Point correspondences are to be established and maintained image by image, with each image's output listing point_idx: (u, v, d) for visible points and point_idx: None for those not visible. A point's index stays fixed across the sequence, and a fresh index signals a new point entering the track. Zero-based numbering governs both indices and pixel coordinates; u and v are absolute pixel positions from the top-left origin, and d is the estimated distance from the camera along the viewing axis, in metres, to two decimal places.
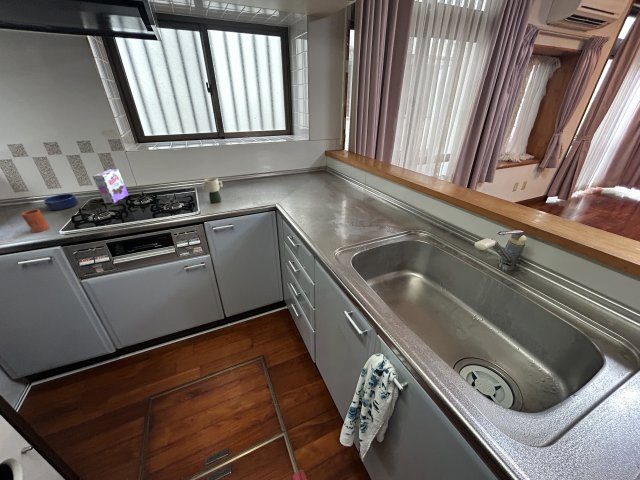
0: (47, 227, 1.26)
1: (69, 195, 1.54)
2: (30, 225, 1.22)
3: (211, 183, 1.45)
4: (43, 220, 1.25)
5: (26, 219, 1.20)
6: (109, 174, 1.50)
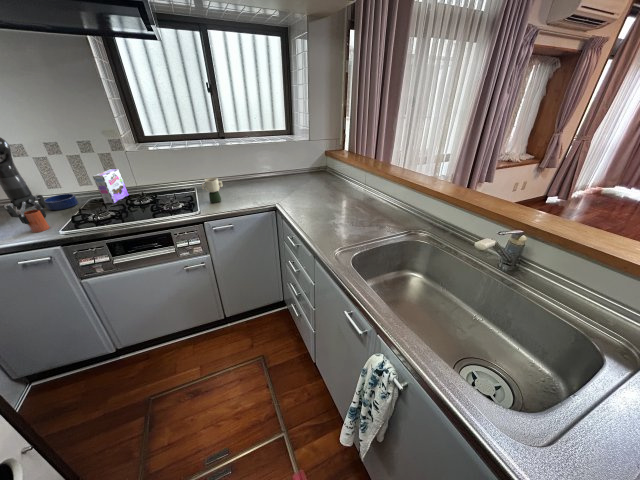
0: (47, 227, 1.26)
1: (69, 195, 1.54)
2: (30, 225, 1.22)
3: (211, 183, 1.45)
4: (43, 220, 1.25)
5: None
6: (109, 174, 1.50)
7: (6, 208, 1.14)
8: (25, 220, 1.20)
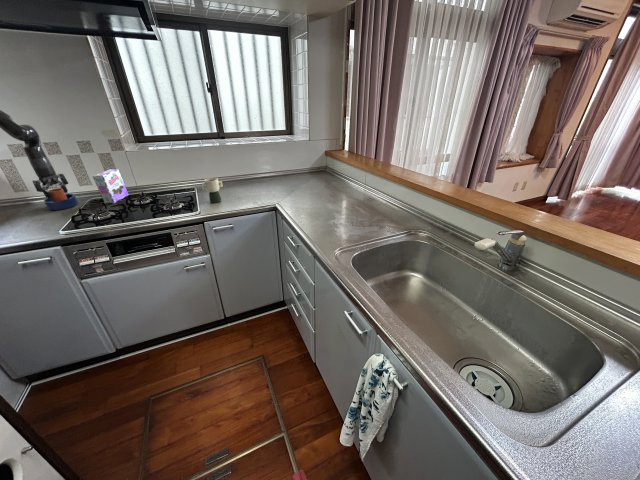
0: None
1: (69, 195, 1.54)
2: (55, 201, 1.46)
3: (211, 183, 1.45)
4: (65, 197, 1.49)
5: (52, 195, 1.45)
6: (109, 174, 1.50)
7: (35, 183, 1.37)
8: (48, 195, 1.43)
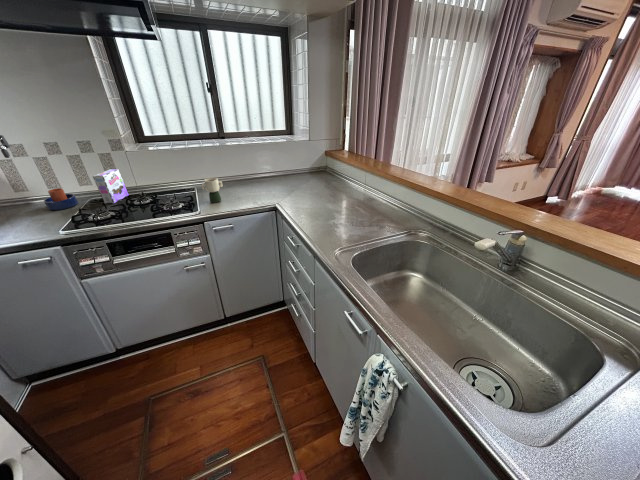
0: None
1: (69, 195, 1.54)
2: (55, 201, 1.46)
3: (211, 183, 1.45)
4: (65, 197, 1.49)
5: (52, 195, 1.45)
6: (109, 174, 1.50)
7: None
8: None
